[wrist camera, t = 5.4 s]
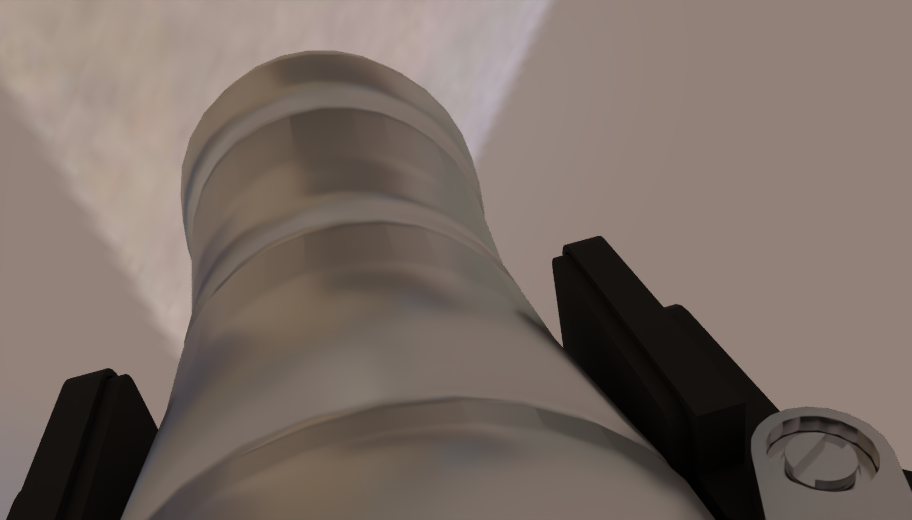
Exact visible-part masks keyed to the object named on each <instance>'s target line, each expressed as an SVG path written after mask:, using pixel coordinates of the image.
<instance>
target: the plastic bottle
mask: <svg viewBox="0 0 912 520" xmlns="http://www.w3.org/2000/svg"><path fill="white" fill-rule="evenodd" d="M181 204H182V216H183V224H184V230H185V235H186V241H187V247H188V250H189V254H190V257H191V260H192V315H191V319H190V322H189V326H188V330H187V333H186V337H185V341H184V348H183V351H182V354H181V358H180V361H179V364H178V368H177V372H176V376H175V379H174V383H173V387H172V391H171V395H170V399H169V403H168V407H167V410H166V413H165V416H164V418H163V421H162V423H161V425H160V428H159V430H158V432H157V435H156V437H155V439H154V442H153V444H152V446H151V449H150V451H149V453H148V456H147V458H146V461H145V463H144V465H143V468H142V470H141V472H140V475H139V477H138V479H137V482H136V484H135V487H134V489H133V491H132V494H131V496H130V498H129V501H128V503H127V505H126V508H125V510H124V513H123V515H122V517H121V520H715V518H714V517H713V516H712V515H711V513H710V512H709V511H708V509H707V508H706V507H705V505H704V504H703V503H702V501H701V500H700V499H699V497H698V496H697V495H696V493H695V492H694V491H693V489H692V488H691V487H690V485H689V484H688V483H687V481H686V480H685V479H684V478H682V477H681V476H680V475H679V474H678V473H677V472H675V471H674V470H673V469H672V468H671V467H670V466H669V464H668V463H667V461H666V460H665V458H664V457H663V456H662V455H661V454H660V453H659V452H658V451H657V450H656V448H655V447H654V446H653V445H652V444H651V443H650V442H649V441H648V440H647V439H646V438H645V436H644V435H643V434H642V433H641V432H640V431H639V430H638V429H637V428H636V427H635V426H634V425H633V423H632V422H631V421H630V420H629V419H628V418H627V417H626V416H625V415H624V414H623V413H622V411H621V410H620V409H619V408H618V407H617V406H616V405H615V404H614V403H613V402H612V401H611V399H610V398H609V397H608V396H607V395H606V394H605V393H604V392H603V391H602V390H601V389H600V387H599V386H598V385H597V384H596V383H595V382H594V381H593V380H592V379H591V378H590V377H589V375H588V374H587V373H586V372H585V371H584V370H583V369H582V368H581V367H580V366H579V365H578V363H577V362H576V361H575V360H574V359H573V358H572V357H571V356H570V355H569V354H568V353H567V351H566V350H565V349H564V348H563V347H562V346H561V345H560V344H559V343H558V342H557V341H556V340H555V338H554V337H553V336H552V334H551V333H550V331H549V330H548V328H547V327H546V326H545V324H544V322H543V321H542V320H541V318H540V317H539V315H538V314H537V312H536V311H535V309H534V308H533V307H532V305H531V304H530V302H529V301H528V300H527V299H526V297H525V295H524V294H523V292H522V291H521V289H520V288H519V286H518V285H517V283H516V282H515V281H514V279H513V278H512V276H511V275H510V274H509V272H508V271H507V269H506V268H505V266H504V265H503V263H502V260H501V258H500V256H499V253H498V250H497V248H496V246H495V243H494V241H493V238H492V235H491V232H490V230H489V227H488V225H487V222H486V220H485V216H484V206H483V201H482V195H481V190H480V185H479V180H478V177H477V173H476V170H475V167H474V164H473V160H472V157H471V155H470V152H469V150H468V147H467V145H466V143H465V140H464V138H463V135H462V133H461V132H460V130H459V129H458V127H457V126H456V124H455V123H454V121H453V120H452V118H451V117H450V115H449V113H448V112H447V110H446V109H445V108H444V107H443V106H442V105H441V104H440V103H439V102H438V101H437V100H436V99H435V98H434V97H433V96H432V95H431V94H430V93H429V92H428V91H427V90H426V89H424V88H423V87H421V86H420V85H418V84H416V83H415V82H413V81H412V80H410V79H409V78H407V77H406V76H404V75H403V74H401V73H400V72H398V71H396V70H394V69H392V68H389V67H387V66H385V65H383V64H380V63H378V62H375V61H373V60H371V59H368V58H366V57H363V56H359V55H354V54H349V53H344V52H339V51H304V52H299V53H294V54H289V55H284V56H280V57H278V58H275V59H273V60H271V61H268V62H266V63H263V64H261V65H259V66H256V67H255V68H254V69H252V70H251V71H249V72H248V73H246V74H245V75H244V76H242V77H241V78H239V79H238V80H237V81H235V82H234V83H233V84H232V85H230V86H229V87H228V88H227V89H226V90H225V91H224V92H223V93H222V94H221V95H220V96H219V97H218V98H217V100H216V101H215V102H214V103H213V104H212V105H211V106H210V107H209V108H208V109H207V111H206V112H205V113H204V114H203V116H202V118H201V120H200V122H199V123H198V125H197V127H196V129H195V131H194V132H193V134H192V136H191V138H190V140H189V144H188V147H187V151H186V154H185V158H184V161H183V165H182V177H181Z"/></svg>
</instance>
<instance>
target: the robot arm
mask: <svg viewBox="0 0 912 520" xmlns="http://www.w3.org/2000/svg"><path fill="white" fill-rule="evenodd" d="M562 254H563V256H559V257H556V258H553V260H552V266H553V275H554V282H555V290H556V296H557V304H558V312H559V318H560V326H561V333H562V341H563V348H564V349H565V350H566V351H567V353H568V354H569V355H570V356H571V357H572V358H573V359H574V360H575V361H576V362H577V363H578V365H579V366H580V367H581V368H582V369H583V370H584V371H585V372H586V373H587V374H588V375H589V377H590V378H591V379H592V380H593V381H594V382H595V383H596V384H597V385H598V386H599V387H600V389H601V390H602V391H603V392H604V393H605V394H606V395H607V396H608V397H609V398H610V399H611V401H612V402H613V403H614V404H615V405H616V406H617V407H618V408H619V409H620V410H621V411H622V413H623V414H624V415H625V416H626V417H627V418H628V419H629V420H630V421H631V422H632V423H633V425H634V426H635V427H636V428H637V429H638V430H639V431H640V432H641V433H642V434H643V435H644V436H645V438H646V439H647V440H648V441H649V442H650V443H651V444H652V445H653V446H654V447H655V448H656V450H657V451H658V452H659V453H660V454H661V455H662V456H663V457H664V458H665V460H666V461H667V463H668V464H669V466H670V467H671V468H672V469H673V470H674V471H675V472H677V473H678V474H679V475H680V476H681V477H682V478H684V479H685V480H686V481H687V483H688V484H689V485H690V487H691V488H692V489H693V491H694V492H695V493H696V495H697V496H698V497H699V499H700V500H701V501H702V503H703V504H704V505H705V507H706V508H707V509H708V511H709V512H710V513H711V515H712V516H713V517H714V518H715V520H912V471H907V470H904V469H902V468H901V466H900V464H899V462H898V459H897V457H896V455H895V452H894V451H893V449H892V447H891V446H890V445H889V443H888V442H887V440H886V439H885V437H884V436H883V435H882V434H881V433H879V432H878V431H877V430H876V429H874V428H873V427H872V426H871V425H870V424H868V423H866V422H864V421H862V420H860V419H858V418H856V417H854V416H852V415H850V414H847V413H843V412H839V411H836V410H832V409H829V408H817V407H800V408H792V409H786V410H783V411H781V412H780V411H779V410H778V409H777V408H776V407H775V405H774V404H773V403H772V402H771V401H770V400H769V399H768V398H767V397H766V396H765V394H764V393H763V392H762V391H761V390H760V389H759V388H758V387H757V386H756V385H755V384H754V383H753V382H752V380H751V379H750V378H749V377H748V376H747V375H746V374H745V373H744V372H743V370H742V369H741V368H740V367H739V366H738V365H737V364H736V363H735V362H734V361H733V360H732V358H731V357H730V356H729V355H728V354H727V353H726V352H725V351H724V350H723V349H722V348H721V346H720V345H719V344H718V343H717V342H716V341H715V340H714V339H713V338H712V337H711V336H710V334H709V333H708V332H707V331H706V330H705V329H704V328H703V327H702V326H701V324H700V323H699V322H698V321H697V320H696V319H695V318H694V317H693V316H692V315H691V314H690V312H689V311H688V310H686V309H685V308H684V307H683V306H682V305H678V304H675V305H671V306H668V307H663V306H662V305H661V304H660V303H659V301H658V300H657V299H656V298H655V297H654V296H653V295H652V293H650V291H649V290H648V289H647V288H646V287H645V285H644V284H643V283H642V282H641V281H640V280H639V278H638V277H637V276H636V275H635V274H634V273H633V271H632V270H631V269H630V268H629V267H628V266H627V265H626V263H625V262H624V261H623V260H622V259H621V258H620V256H619V255H618V254H617V253H616V252H615V251H614V250H613V248H612V247H611V246H610V245H609V244H608V243H607V241H606V240H605V239H604V238H603V237H601V236H596V237H593V238H589V239H585V240H582V241H578V242H574V243H571V244H567V245H564V247H563V252H562ZM157 432H158V428H157V426H156V424H155V422H154V420H153V418H152V416H151V414H150V412H149V410H148V408H147V406H146V404H145V402H144V401H143V398H142V397H141V395H140V393H139V391H138V389H137V387H136V385H135V383H134V381H133V380H132V378H131V377H130V376H129V375H127V374H124V375H120V376H118V375H117V373H115V372H114V371H113V370H112V369H110V368H107V369H103V370H100V371H96V372H92V373H89V374H85V375H81V376H77V377H74V378H70V379H68V380H66V381H65V383H64V384H63V386H62V389H61V392H60V394H59V397H58V399H57V402H56V404H55V407H54V409H53V412H52V414H51V417H50V419H49V422H48V424H47V427H46V429H45V432H44V434H43V437H42V439H41V442H40V444H39V447H38V449H37V452H36V454H35V457H34V459H33V462H32V464H31V467H30V470H29V472H28V474H27V477H26V479H25V482H24V485H23V487H22V490H21V491H20V492H19V493H18V495H17V497H16V498H15V500H14V502H13V504H12V507H11V509H10V512H9V514H8V517H7V519H6V520H121V517H122V515H123V513H124V510H125V508H126V505H127V503H128V501H129V498H130V496H131V494H132V491H133V489H134V487H135V484H136V482H137V479H138V477H139V475H140V472H141V470H142V468H143V465H144V463H145V461H146V458H147V456H148V453H149V451H150V449H151V446H152V444H153V442H154V439H155V437H156V435H157Z"/></svg>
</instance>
